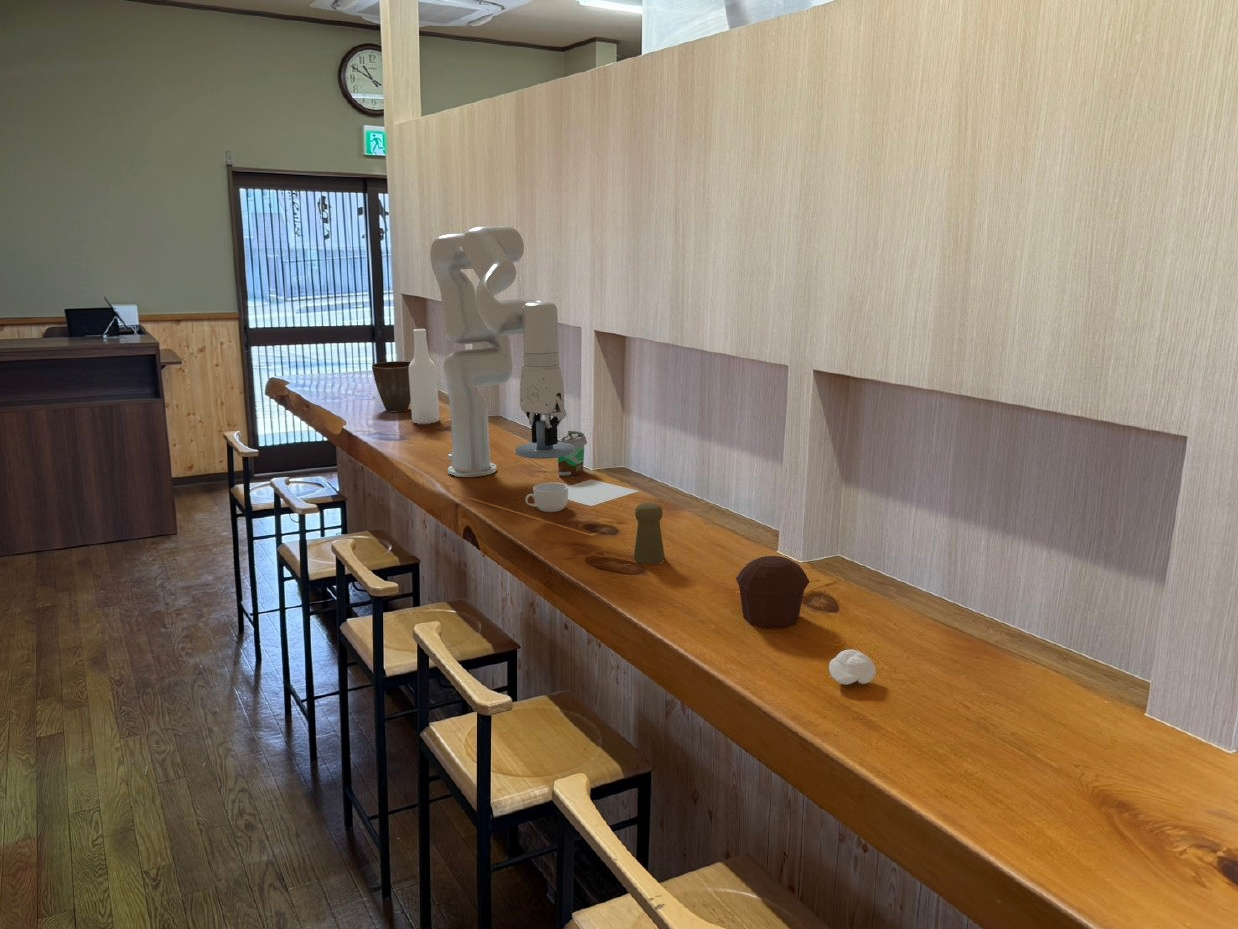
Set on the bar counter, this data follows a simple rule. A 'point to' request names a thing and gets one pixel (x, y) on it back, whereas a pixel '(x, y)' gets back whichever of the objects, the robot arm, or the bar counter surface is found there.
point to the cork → (649, 534)
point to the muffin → (772, 591)
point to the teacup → (549, 496)
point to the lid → (543, 446)
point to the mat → (596, 492)
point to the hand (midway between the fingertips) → (544, 442)
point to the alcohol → (423, 382)
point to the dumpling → (852, 667)
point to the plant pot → (393, 384)
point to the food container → (573, 455)
